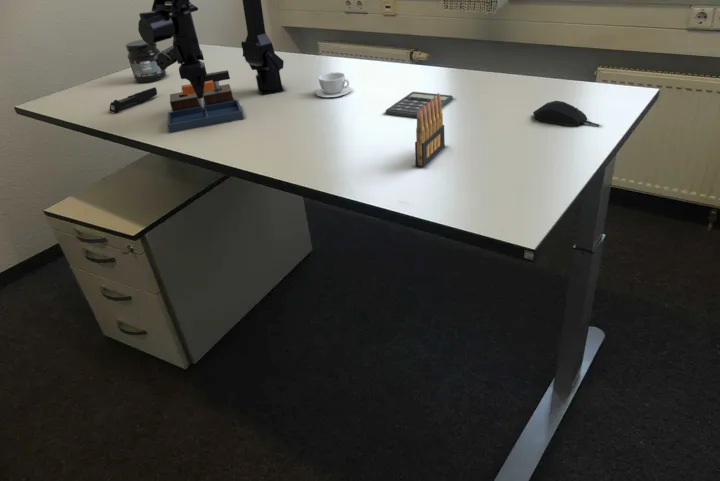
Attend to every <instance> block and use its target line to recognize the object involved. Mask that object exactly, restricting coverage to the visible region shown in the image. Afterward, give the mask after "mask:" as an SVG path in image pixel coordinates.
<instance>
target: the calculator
mask: <svg viewBox="0 0 720 481" xmlns="http://www.w3.org/2000/svg"><path fill="white" fill-rule="evenodd" d="M437 94H438V93H431V92H429V93H428V92H421V91H412V92H410V93H409V94H407V95H405V96H404V97H402V98H401V99H400V100H398V101H397V102H395V103H394V104H392V105H391V106H390V107H388V108H387V109H385V114H386V115H393V116H394V115H395V116H402V117H411V118H417V113H418V109H419V108H420V109H421V110H422V106H423V105H425V106H426V103H427V102H428V103H429V102H430V99H432V100H433V98H434V96H436V97H437ZM439 94H440V93H439ZM440 97H441V105H442V108H443V107H444V106H446V105H447V104H448V103H449V102H451V101H452V100H453V98H454V96H453V95H451V94H440Z"/></svg>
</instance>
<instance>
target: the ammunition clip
mask: <svg viewBox="0 0 720 481" xmlns="http://www.w3.org/2000/svg"><path fill="white" fill-rule="evenodd" d="M436 94H437V97H436V96H434V98H433V100H432V99H430V102H429V103H428V102H427V103H426V106H425V105H423V106H422V110H421V109H420V108H419V109H418V113H417V117H416V130H415V134H416V135H415V136H416V137H415V138H416V141H415V142H414V146H415V147H414V155H415V156H414V157H415V158H414V159H415V161H414V162H415V167H418V168H425V167H426V166H427V165H428V164H430V162H431V161H433V159H434V158H435V157H436V156H438V154H440V153H441V152H442V150H444V149H445V147H446V142H445V141H446V140H445V138H446V137H445V124H444V116H443V115H444V113H443V107H442V105H441V97H440V93H439V92H437V93H436Z"/></svg>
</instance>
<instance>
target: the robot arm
mask: <svg viewBox="0 0 720 481" xmlns="http://www.w3.org/2000/svg"><path fill="white" fill-rule="evenodd" d="M242 8H243V14H244V20H245V25H246V26H245V27H246V32H247V33H246V34H247V35H246V38H245V41H241V48H242V57H243V58H244V60H245V62H246V63H247V64H248V65H249V67H250V69H251V70H252V71H255V72H256V75H255V80H256V86H257V89H258V92H260V93H261V95H267V94H273V93H278V92H284V87H283V85H282V79H281V73H280V71H281V70H282V69H284V62H285V61H284V59H282V58H281V57H280V56H278V55H277V54H276V53H275V49H274V45H273V42H272V41H271V39H270V37H269V36H268V35H267V32H266V27H265V21H264V12H263V5H262V0H242ZM198 11H199V8H198V7H197V6H196V5H195V4H193V3H192V2H191V1H190V0H153V3H152V7H151V11H147V12H146V11H145V12H144V11H143V12H139V14H138V15H139V17H140V19H139V20H138V26H137V27H138V28H137V30H138V34H139V36H140V37H141V40H142V39H143V40H144V41H145V42H146V43H147V44H153V43H156V44H157V43H160V42H162V41H166V40H169V39H172V45H171V46H169V47H167V48H165V49H164V50H160V53H157V55H155V56H154V60H155V62H156V63H157V66H159V67H160V69H161V70H162V71H163V70H165V71H166V69H167V68H168V67H170V66H172V65H173V64H176V63H177V64H178V65H179V67H178V73H179V76H180V80H187V81H188V82H189V84H191V85H192V87H193V89H194V91H195V93H196V95H197V97H198V99H201V98H203V91H204V84H205V78H206V75H207V74H208V73H207V69H206V65H205V64H206V63H205V62H204V61H205V59H204V54H203V50H201V48H200V43H199V38H198V35H197V30H196V27H195V23H194V22H195V21H194V18H193V15H192V13H193V12H198Z"/></svg>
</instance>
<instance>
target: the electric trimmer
mask: <svg viewBox="0 0 720 481" xmlns="http://www.w3.org/2000/svg"><path fill="white" fill-rule="evenodd" d="M157 95H158V91H157V88H156V86H155V87H151V88H148V89H145V90H142V91H140V92H136V93H133V94H131V95H127V96H126V97H124V98H121V99H119V100H117V99H114V100H113V101H111V102H110V104H109V109H108V110H109V112H110V113H112V114H115V113H116V114H117V113H119V112H120V111H121V110H123V109H126V108H129V107H131V106H133V105H136V104H142V103H143V102H146V101H148V100H149V99H152V98H153V97H155V96H157Z"/></svg>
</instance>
